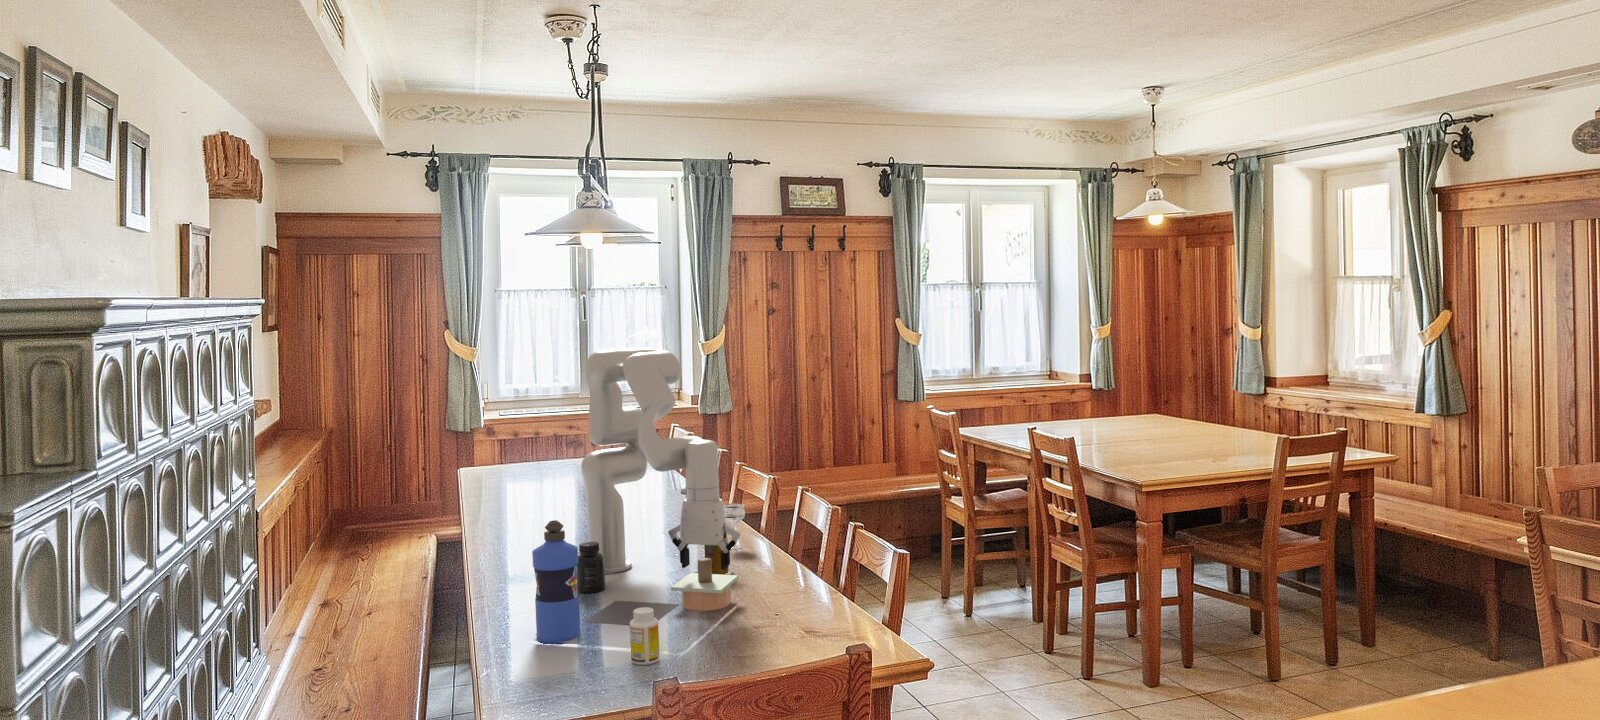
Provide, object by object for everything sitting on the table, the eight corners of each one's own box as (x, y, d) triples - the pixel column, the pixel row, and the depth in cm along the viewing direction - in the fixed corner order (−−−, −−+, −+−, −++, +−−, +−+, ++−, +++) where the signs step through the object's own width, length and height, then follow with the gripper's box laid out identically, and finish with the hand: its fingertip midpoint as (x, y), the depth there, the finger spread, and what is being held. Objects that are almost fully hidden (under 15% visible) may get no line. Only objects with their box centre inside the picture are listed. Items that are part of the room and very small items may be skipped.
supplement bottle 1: (610, 589, 252) (608, 541, 251) (596, 597, 246) (594, 547, 245) (586, 587, 254) (584, 539, 253) (571, 595, 248) (569, 546, 247)
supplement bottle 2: (659, 654, 205) (657, 604, 204) (660, 664, 199) (658, 613, 199) (630, 657, 204) (628, 607, 203) (631, 667, 198) (629, 615, 198)
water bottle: (584, 629, 222) (580, 515, 220) (577, 644, 212) (572, 525, 211) (541, 631, 221) (536, 517, 220) (531, 646, 212) (526, 527, 210)
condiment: (735, 574, 263) (733, 528, 262) (705, 580, 258) (704, 533, 257) (721, 568, 269) (719, 523, 268) (692, 573, 264) (690, 528, 263)
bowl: (675, 611, 233) (674, 590, 232) (693, 597, 243) (692, 576, 243) (720, 614, 230) (719, 592, 229) (736, 600, 240) (736, 579, 240)
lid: (671, 590, 232) (670, 565, 232) (690, 576, 243) (690, 552, 243) (720, 593, 229) (719, 567, 228) (738, 578, 240) (737, 554, 240)
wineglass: (745, 550, 287) (743, 508, 286) (721, 550, 287) (719, 508, 286) (746, 544, 294) (745, 503, 293) (723, 544, 294) (722, 503, 293)
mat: (583, 624, 225) (583, 621, 225) (615, 602, 240) (615, 600, 240) (650, 629, 221) (650, 626, 221) (679, 606, 236) (678, 604, 236)
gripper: (661, 496, 233) (664, 570, 235) (732, 498, 229) (735, 573, 230) (674, 490, 241) (676, 561, 242) (743, 492, 236) (746, 565, 237)
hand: (705, 567), depth 236 cm, fingers open, 9 cm apart
